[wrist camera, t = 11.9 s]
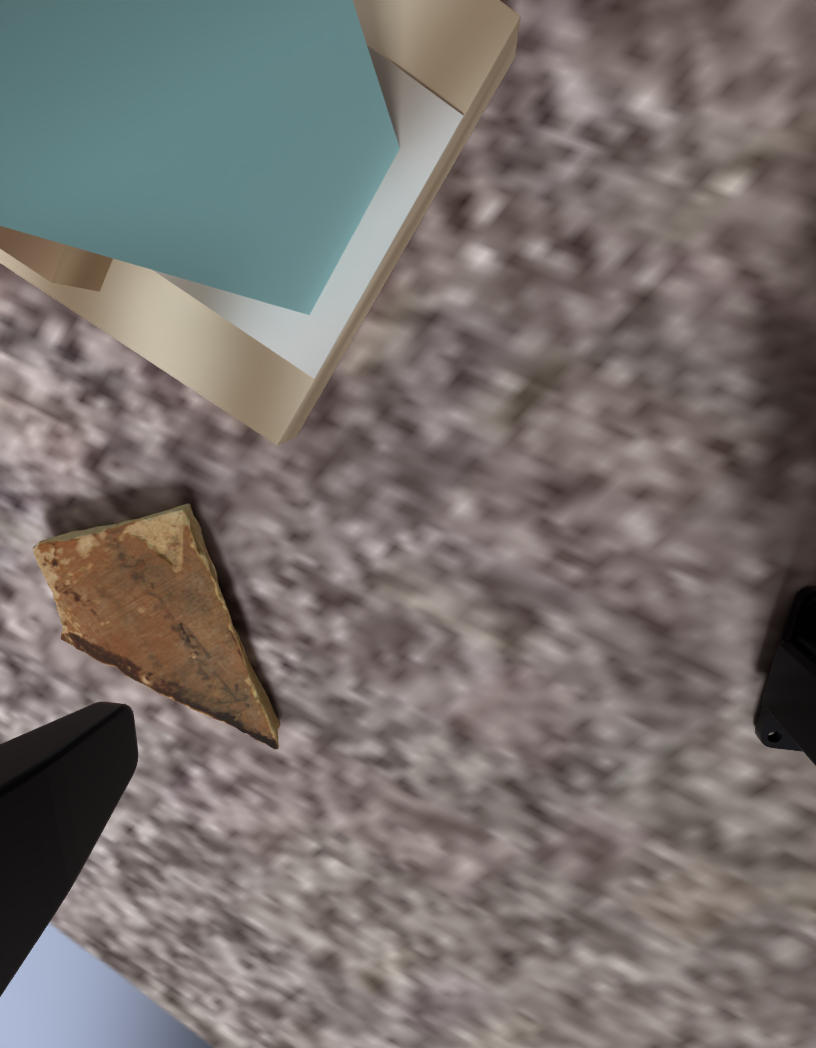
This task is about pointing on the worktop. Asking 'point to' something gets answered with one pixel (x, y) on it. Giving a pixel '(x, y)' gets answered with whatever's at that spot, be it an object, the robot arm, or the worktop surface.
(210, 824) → the worktop surface
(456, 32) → the beige tray
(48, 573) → the shard
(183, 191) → the tall block
